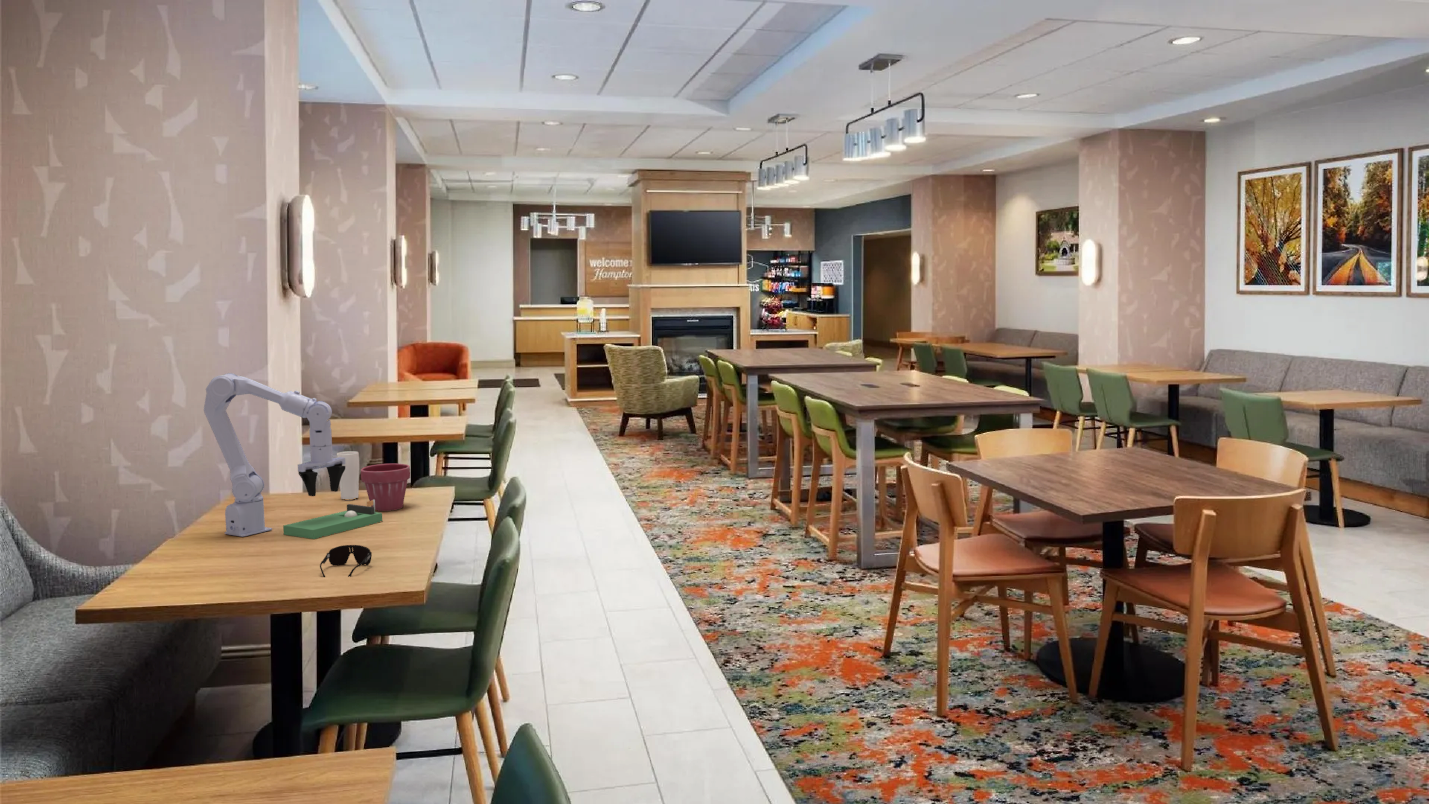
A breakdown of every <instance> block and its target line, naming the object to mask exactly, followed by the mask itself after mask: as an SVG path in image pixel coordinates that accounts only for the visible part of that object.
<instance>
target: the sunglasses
mask: <svg viewBox="0 0 1429 804" xmlns="http://www.w3.org/2000/svg"><path fill="white" fill-rule="evenodd" d="M351 554H352V555H353V557H354V560H355V561H356V562H355V563H356V564H357V565H356V566H355V567H353V568H352V569H351V571H350V572H349V574H348V575H347V577H348V578H349V576H350V577H352V574H353V573H354V572H355V570H356V569H357V568H358V567H360V566H362V565H361V564H366V565H365V566H368V565H370V563H371V562H372V551H371V549H370V548H369V547H367V546H364V545H360V544H345V545H338V546H336V547H333V548H330V550H329V551H328V552H326V555H325V557H324V558H323V559H322V561H320V564H319V569H320V571H321V574H322V577H323V578H326V575H325V573H324V570H323V567H322V565H323V564H324V565H325V564H326V562H327V561H328V562H329V564H330V565H331V566H334V565H337V566H346V564H347V563H348V560H349V558H350V555H351ZM358 564H359V565H358Z"/></svg>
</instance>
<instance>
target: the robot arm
mask: <svg viewBox="0 0 1429 804" xmlns="http://www.w3.org/2000/svg"><path fill="white" fill-rule="evenodd" d="M205 392H206V394H205V398H204V406H203V412H204V415H205V417H206V420H207V421H208V424H209V427H210V428H211V431H212V433H213V435H214V437H215V440H216V443H217V444H218V446H219V448H220V451H221V453H222V455H223V458H224V460H225V462H226V464H227V467H228V469H229V472H230V473H229V478H230V481H231V483H232V486H231V487H232V488H231V491H232V492H231V493H232V495H233V497H234V502H233V503H230V504H227V506H226V508H225V511H224V512H225V513H224V515H225V517H224V518H225V519H224V520H225V529H226V530H225V531H224V535H228V536H229V535H230V536H237V537H241V538H242V537H247V536H252V535H256V534H260V533H265V532H269V531H272V530H273V527H267V526H265V525H266V522H265V505H264V502H265V501H264V496H263V495H262V492H263V490H264V488H265V481H264V479H263V477H262V476H261V475H259V474H258V473H257V471H256V469H255V468H254V466H253V465H252V464H250V462H249V460H248V458H247V456H246V453H245V451H244V449H243V446H242V444H241V442H240V440H239V437H238V435H237V433H236V431H235V429H234V426H233V424H232V422H231V419H230V417H229V415H228V413H227V410H228V407H229V406H230V403H232V402H231V401H232V400H233V399H234V398H235V397H236V396H244V395H253V396H255V397H258V398H261V399H264V400H267V401H269V402H273V403H276V404H278V405H279V406H280V409H281V410H282V411H284V412H287V413H289V414H292V415H295V416H298V417H300V418H303V419H306V418H307V420H308V422H309V432H308V433H309V451H310V461H307V462H303V463H299V464H297V472H298V476H300V478H301V480H302V482H303V484H304V486H305V488H306V492H307V495H308V496H309V497H316V494H317V488H316V487H317V478H318V475H319V472H318V471H315V470H318V469H323V468H326V470H327V473H328V477H329V486H330V487H329V488H330V492H335V493H336V492H338V491H339V489H340V484H339V483H340V480H341V477H342V474H343V472H344V471H345V466H342V465H344V464H345V458H343V457H339V458H337V457H333V439H332V436H333V435H332V427H331V425H332V422H331V417H332V415H333V409H332V407H331V406H330V404H328V403H327V402H326V401H324V400H319V401H318V400H317V399H318V398H316V397H313V398H311V397H308V396H305V395H302V394H301V391H299V390H294V391H292V390H287V392H283V391H280V390H278V389H276V388H273V387H271V386H268V385H266V384H263V383H261V382H258V381H256V380H254V379H252V378H249V377H246V376H241V375H238V374H235V373H233V372H230V373H229V372H228V373H225V374H222V375H217V376H214V377H213V378H212V379H211V380H210V381H209V383H208V384H207V386H206V388H205Z"/></svg>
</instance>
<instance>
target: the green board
mask: <svg viewBox="0 0 1429 804" xmlns="http://www.w3.org/2000/svg"><path fill="white" fill-rule="evenodd" d="M372 505H373V507H371V506H372ZM348 511H355V512H356V513H357V516H354V517H344V516H345V513H346V512H348ZM380 521H382V522H383V512H379V511H375V500H372V501H369V500H368V501H366V505H361V504H353V503H347V504H346V510H344V511H339V512H335V513H331V514H326V515H323V516H318V517H317V516H316V517H313V518H310V519H309V518H308V519H305V520H300V521H295V522H291V523H289V524H284V525H283V526H282V527H283V529H282V530H283V535H284V536H290V537H297V538H303V537H304V539H309V540H310V539H311V540H315V539H320V538H323V537H322V536H324V537H327V536H331V534H332V535H335V534H334V533H336V534H340V533H344V532H346V530H347V531H351V530H355V529H358V527H359V528H363V527H367V526H370V525H369V524H371V525H375V524H378V523H377V522H379V523H381V522H380ZM374 523H375V524H374ZM366 525H367V526H366ZM354 528H355V529H354ZM343 531H344V532H343ZM319 537H320V538H319Z"/></svg>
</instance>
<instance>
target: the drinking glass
mask: <svg viewBox="0 0 1429 804" xmlns="http://www.w3.org/2000/svg"><path fill="white" fill-rule="evenodd" d="M339 457H343V458H345V464H344V465H342V466H345V471H344V472H343V474H342V477H341V480H340V483H339V491H340V498H341V500H342V499H354V498H359V497H360V495H359V489H360V488H359V487H360V485H359V484H360V454H359V451H353V450H352V451H350V450H349V451H340V452H337V453H336V458H339Z"/></svg>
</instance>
